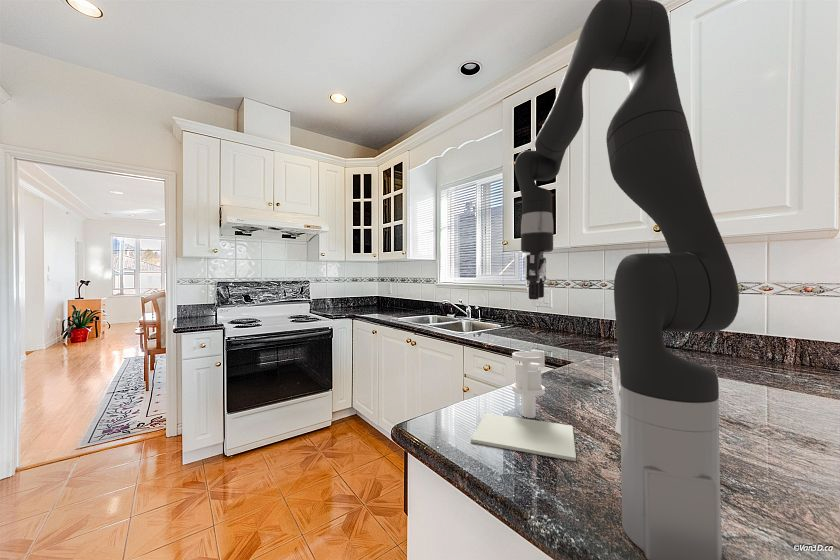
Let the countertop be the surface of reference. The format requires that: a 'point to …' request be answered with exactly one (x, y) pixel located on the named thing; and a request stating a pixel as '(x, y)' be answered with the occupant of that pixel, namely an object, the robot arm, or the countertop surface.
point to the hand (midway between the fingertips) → (536, 298)
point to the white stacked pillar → (529, 379)
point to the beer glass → (617, 391)
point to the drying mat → (526, 436)
